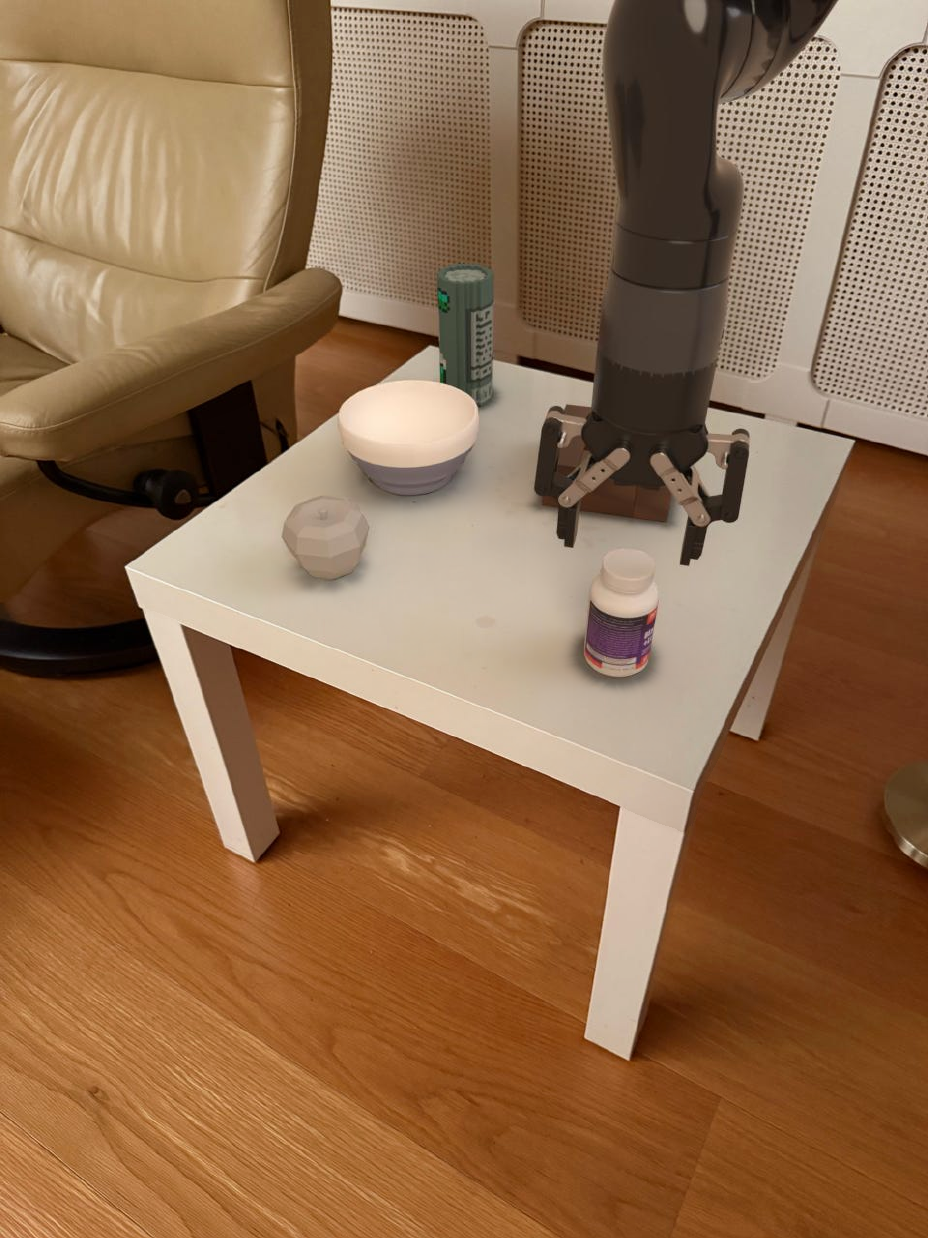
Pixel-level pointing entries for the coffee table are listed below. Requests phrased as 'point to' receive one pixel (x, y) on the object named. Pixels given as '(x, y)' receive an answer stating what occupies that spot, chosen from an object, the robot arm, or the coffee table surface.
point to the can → (466, 329)
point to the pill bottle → (621, 614)
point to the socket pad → (610, 485)
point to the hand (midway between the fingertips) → (627, 550)
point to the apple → (326, 536)
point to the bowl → (409, 433)
